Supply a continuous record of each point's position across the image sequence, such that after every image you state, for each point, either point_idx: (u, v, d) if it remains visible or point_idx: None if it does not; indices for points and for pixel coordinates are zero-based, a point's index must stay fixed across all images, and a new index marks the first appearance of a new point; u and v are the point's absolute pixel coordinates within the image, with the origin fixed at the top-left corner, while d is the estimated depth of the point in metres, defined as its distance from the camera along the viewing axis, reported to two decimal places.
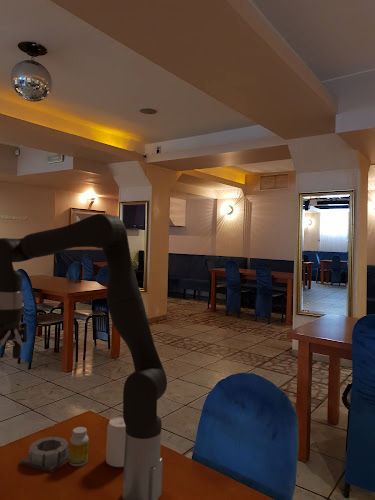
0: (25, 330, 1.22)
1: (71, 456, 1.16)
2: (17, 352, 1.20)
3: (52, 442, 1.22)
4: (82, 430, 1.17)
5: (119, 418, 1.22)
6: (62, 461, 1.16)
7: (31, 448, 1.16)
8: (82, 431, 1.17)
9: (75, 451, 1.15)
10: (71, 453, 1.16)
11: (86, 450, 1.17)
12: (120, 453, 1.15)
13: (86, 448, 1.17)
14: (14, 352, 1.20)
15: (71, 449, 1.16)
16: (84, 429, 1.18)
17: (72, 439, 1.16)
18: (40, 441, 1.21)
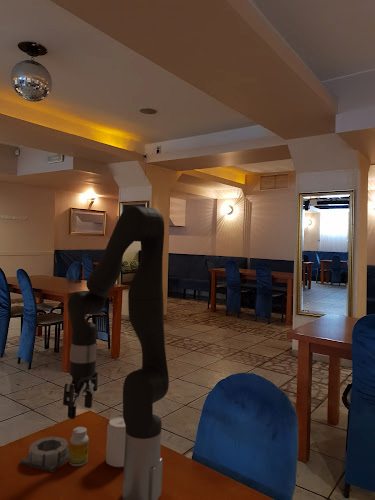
0: (96, 379, 1.23)
1: (71, 456, 1.16)
2: (89, 402, 1.21)
3: (52, 442, 1.22)
4: (82, 430, 1.17)
5: (119, 418, 1.22)
6: (62, 461, 1.16)
7: (31, 448, 1.16)
8: (82, 431, 1.17)
9: (75, 451, 1.15)
10: (71, 453, 1.16)
11: (86, 450, 1.17)
12: (120, 453, 1.15)
13: (86, 448, 1.17)
14: (86, 402, 1.21)
15: (71, 449, 1.16)
16: (84, 429, 1.18)
17: (72, 439, 1.16)
18: (40, 441, 1.21)
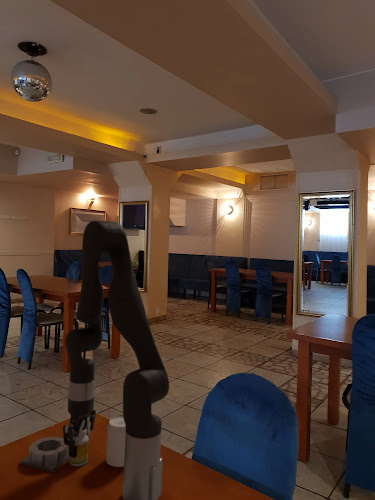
0: (94, 418, 1.23)
1: None
2: None
3: (52, 442, 1.22)
4: (82, 430, 1.17)
5: (119, 418, 1.22)
6: (62, 461, 1.16)
7: (31, 448, 1.16)
8: (82, 431, 1.17)
9: None
10: None
11: (86, 450, 1.17)
12: (120, 453, 1.15)
13: (86, 448, 1.17)
14: None
15: None
16: (84, 429, 1.18)
17: None
18: (40, 441, 1.21)
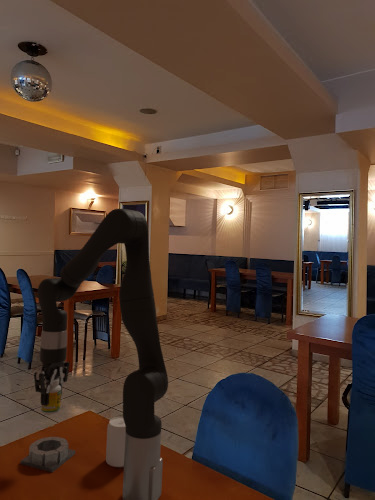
0: (67, 369, 1.24)
1: None
2: None
3: (52, 442, 1.22)
4: (54, 379, 1.18)
5: (119, 418, 1.22)
6: (62, 461, 1.16)
7: (31, 448, 1.16)
8: (54, 380, 1.17)
9: None
10: None
11: (58, 399, 1.18)
12: (120, 453, 1.15)
13: (58, 397, 1.18)
14: None
15: None
16: (56, 379, 1.19)
17: None
18: (40, 441, 1.21)
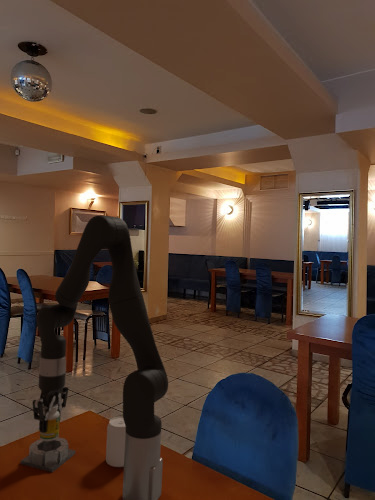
0: (66, 395, 1.24)
1: None
2: None
3: (52, 442, 1.22)
4: (53, 406, 1.18)
5: (119, 418, 1.22)
6: (62, 461, 1.16)
7: (31, 448, 1.16)
8: (53, 407, 1.17)
9: None
10: None
11: (57, 426, 1.18)
12: (120, 453, 1.15)
13: (57, 424, 1.18)
14: None
15: None
16: (55, 405, 1.19)
17: None
18: (40, 441, 1.21)
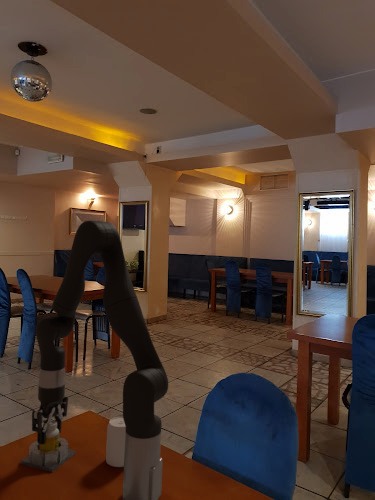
0: (66, 404, 1.24)
1: (41, 449, 1.16)
2: (58, 427, 1.22)
3: None
4: (52, 423, 1.18)
5: (119, 418, 1.22)
6: (62, 461, 1.16)
7: (31, 448, 1.16)
8: (52, 424, 1.18)
9: (45, 444, 1.16)
10: (41, 446, 1.17)
11: (56, 443, 1.18)
12: (120, 453, 1.15)
13: (56, 441, 1.18)
14: None
15: None
16: (54, 422, 1.19)
17: None
18: None
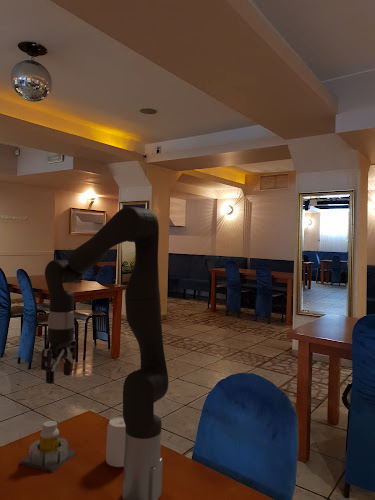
0: (75, 348, 1.26)
1: (41, 450, 1.16)
2: (68, 369, 1.24)
3: None
4: (52, 424, 1.18)
5: (119, 418, 1.22)
6: (62, 461, 1.16)
7: (31, 448, 1.16)
8: (52, 425, 1.17)
9: (45, 445, 1.16)
10: (41, 446, 1.16)
11: (56, 443, 1.18)
12: (120, 453, 1.15)
13: (56, 441, 1.18)
14: (65, 369, 1.24)
15: (41, 442, 1.17)
16: (54, 423, 1.19)
17: (42, 432, 1.17)
18: None
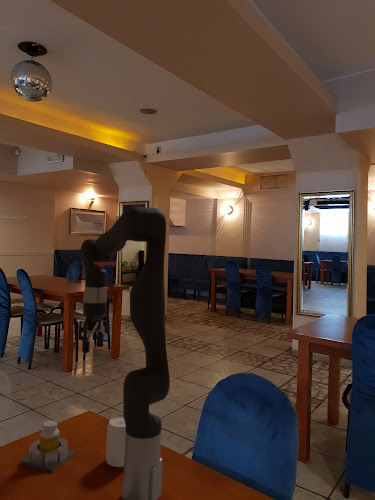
0: (107, 322, 1.36)
1: (41, 450, 1.16)
2: (101, 341, 1.34)
3: None
4: (53, 424, 1.18)
5: (119, 418, 1.22)
6: (62, 461, 1.16)
7: (31, 448, 1.16)
8: (53, 425, 1.17)
9: (45, 445, 1.16)
10: (41, 447, 1.16)
11: (56, 444, 1.18)
12: (120, 453, 1.15)
13: (56, 442, 1.18)
14: (98, 341, 1.34)
15: (41, 443, 1.16)
16: (55, 423, 1.19)
17: (42, 433, 1.17)
18: None
